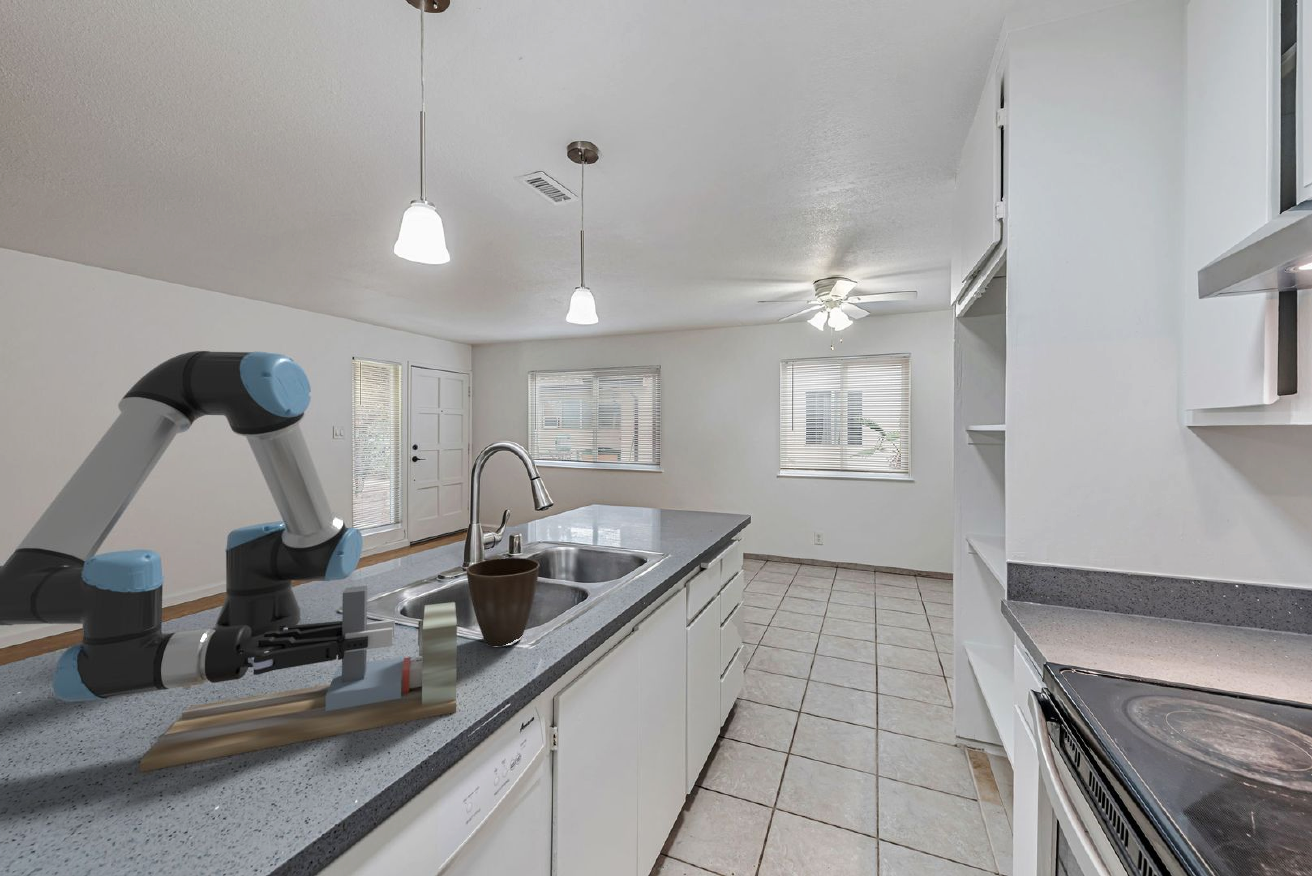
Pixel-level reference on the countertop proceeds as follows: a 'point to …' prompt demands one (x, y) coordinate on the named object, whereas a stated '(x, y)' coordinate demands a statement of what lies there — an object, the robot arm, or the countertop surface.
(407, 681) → the button
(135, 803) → the countertop surface
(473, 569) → the plant pot
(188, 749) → the rail track
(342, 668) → the carriage
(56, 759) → the countertop surface
